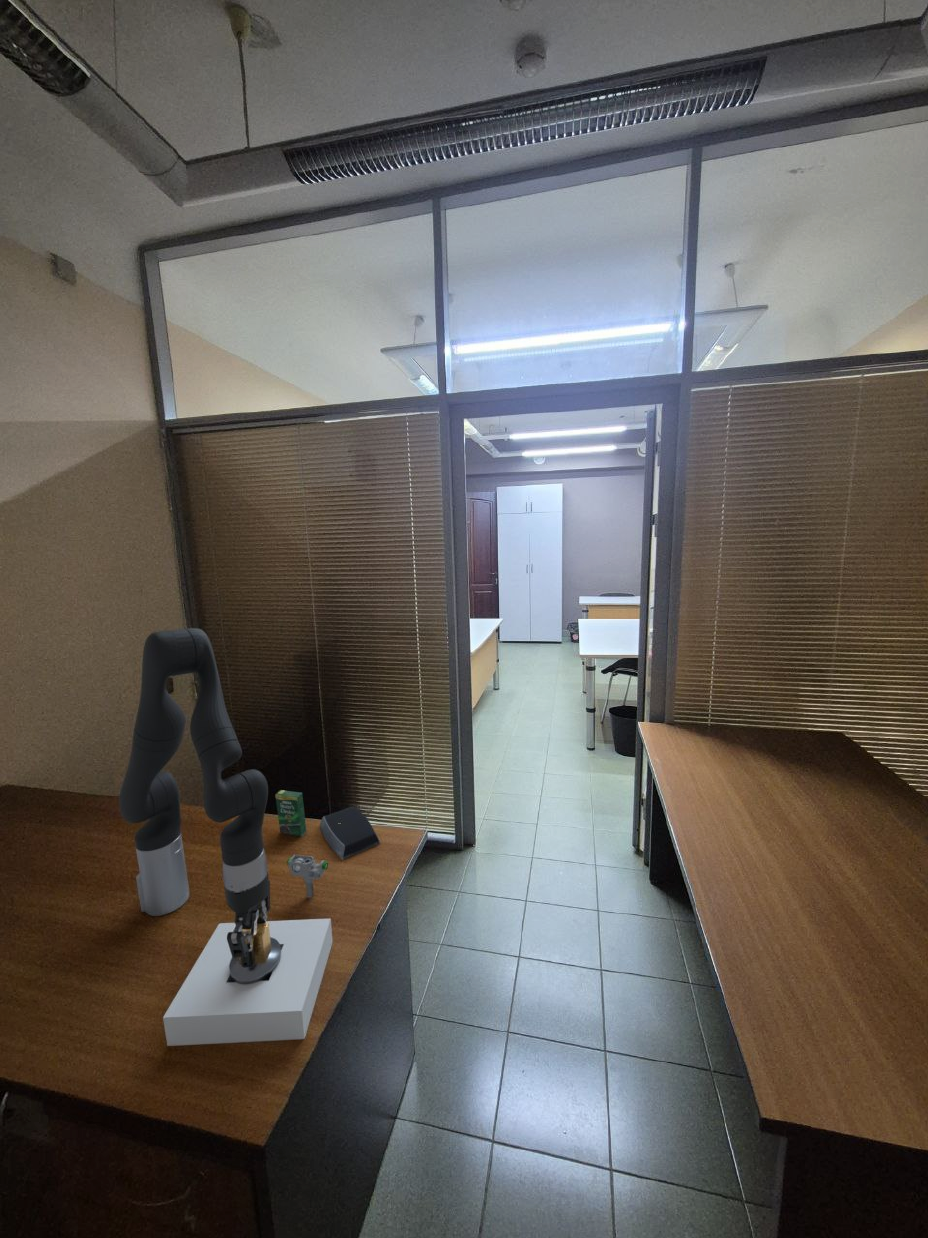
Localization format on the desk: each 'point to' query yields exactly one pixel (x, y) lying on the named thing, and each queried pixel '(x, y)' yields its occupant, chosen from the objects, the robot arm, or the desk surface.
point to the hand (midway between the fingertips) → (255, 951)
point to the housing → (251, 990)
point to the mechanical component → (307, 870)
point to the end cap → (258, 958)
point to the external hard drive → (348, 832)
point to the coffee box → (291, 813)
